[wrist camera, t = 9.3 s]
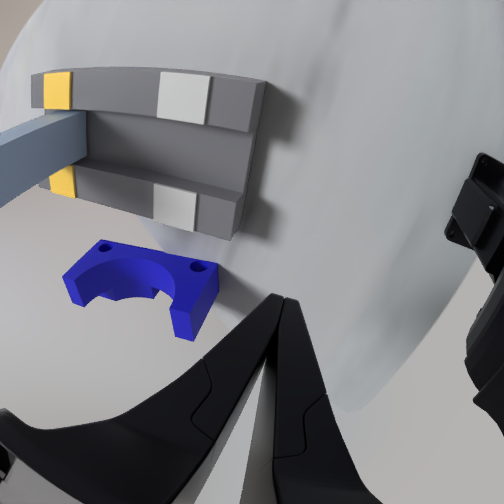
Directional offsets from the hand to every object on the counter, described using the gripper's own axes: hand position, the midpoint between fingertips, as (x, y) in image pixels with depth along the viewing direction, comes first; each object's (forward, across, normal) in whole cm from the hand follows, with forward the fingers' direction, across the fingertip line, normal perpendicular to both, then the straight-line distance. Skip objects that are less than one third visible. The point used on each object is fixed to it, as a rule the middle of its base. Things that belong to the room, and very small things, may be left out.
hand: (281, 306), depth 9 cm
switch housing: (+12, +13, 0) cm, 18 cm away
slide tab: (+11, +18, 0) cm, 21 cm away
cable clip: (+12, +11, +12) cm, 21 cm away
